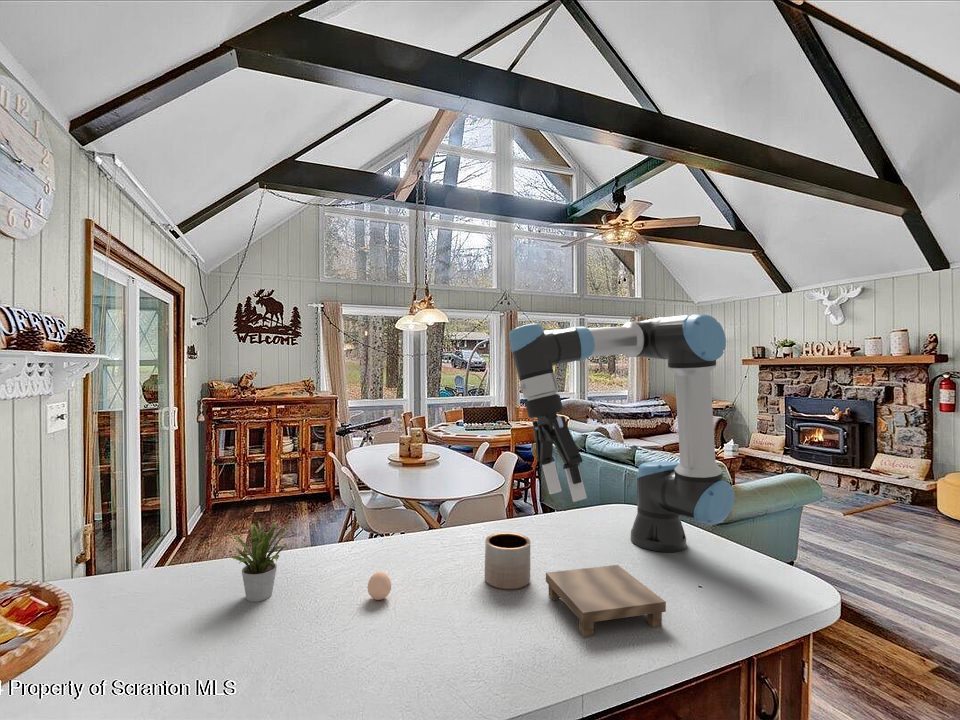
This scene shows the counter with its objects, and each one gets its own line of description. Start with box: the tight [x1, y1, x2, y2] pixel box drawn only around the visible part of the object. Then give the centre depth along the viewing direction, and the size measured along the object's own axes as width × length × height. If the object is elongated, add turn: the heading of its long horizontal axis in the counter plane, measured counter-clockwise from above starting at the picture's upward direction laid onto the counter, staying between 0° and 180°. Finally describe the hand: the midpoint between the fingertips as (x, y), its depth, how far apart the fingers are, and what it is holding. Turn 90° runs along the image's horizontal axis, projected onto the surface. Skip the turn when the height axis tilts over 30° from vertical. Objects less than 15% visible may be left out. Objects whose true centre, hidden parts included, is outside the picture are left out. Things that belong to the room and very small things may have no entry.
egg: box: [367, 570, 392, 601], centre depth 110 cm, size 5×5×6 cm
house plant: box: [226, 519, 296, 603], centre depth 110 cm, size 14×14×16 cm
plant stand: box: [545, 564, 667, 638], centre depth 106 cm, size 18×18×5 cm
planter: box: [484, 532, 531, 591], centre depth 120 cm, size 11×11×10 cm
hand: (567, 496), depth 105 cm, fingers open, 13 cm apart
